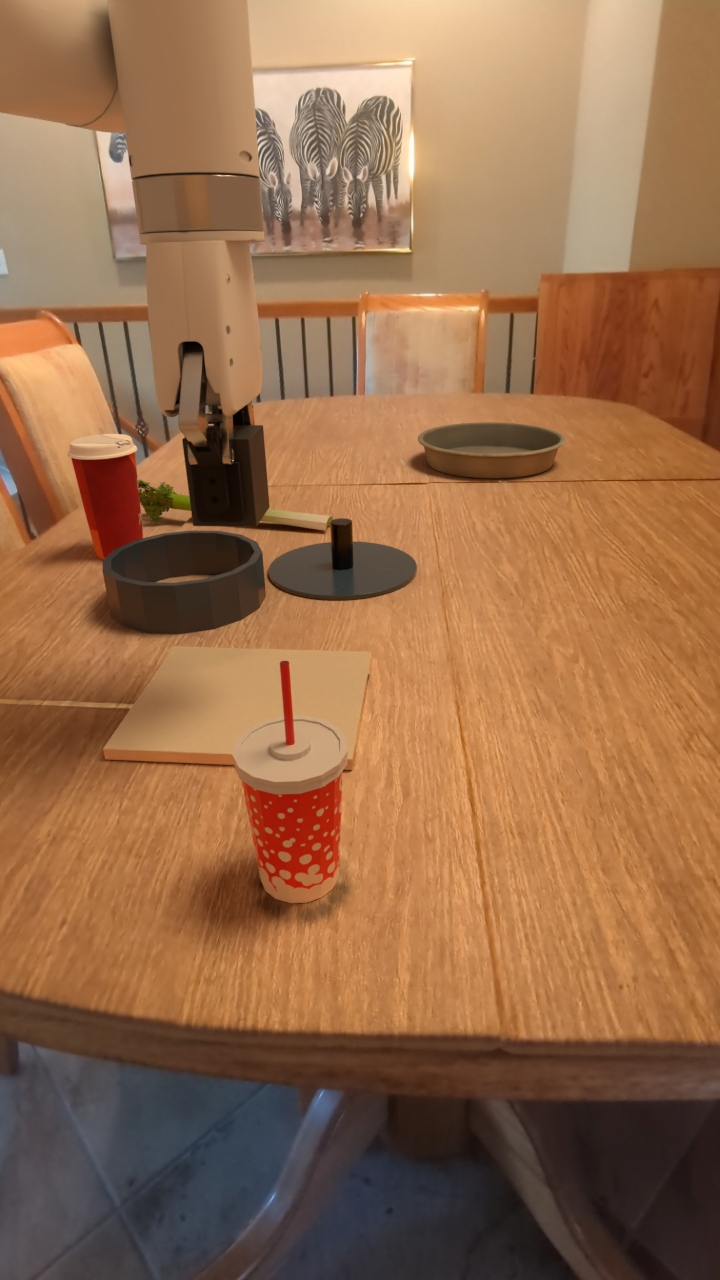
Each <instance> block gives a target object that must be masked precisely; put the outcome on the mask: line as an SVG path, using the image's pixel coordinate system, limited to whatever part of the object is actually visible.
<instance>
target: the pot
mask: <svg viewBox="0 0 720 1280" xmlns="http://www.w3.org/2000/svg"><path fill="white" fill-rule="evenodd" d="M263 555H264V554H263V550H262V548H261V546H260V544H259V543H258V541H256V540H254V539H251V538H250V537H247V536H245V535H243V534H241V533H234V532H228V531H222V530H197V529H195V530H182V531H173V532H172V531H171V532H163V533H159V534H154V535H151V536H147V537H143V538H142V539H138V540H135V541H133V542H130V543H128V544H126V545H123V546H121V547H119V548H116V549H115V550H113V551H112V552H111V553H110V554H109V555H108V556H107V557H106V558H104V559H102V575H103V580H104V581H103V582H104V586H105V591H106V592H105V593H106V597H107V602H108V608H109V613H110V618H112V619H113V620H115V621H116V623H118V624H120V625H121V626H122V627H123V628H125V629H130V630H134V631H136V632H137V631H138V632H142V633H145V634H155V635H156V634H158V635H159V634H160V635H184V634H185V635H186V634H192V633H199V632H206V631H212V630H216V629H219V628H222V627H225V626H229V625H232V624H234V623H237V622H240V621H242V620H244V619H245V618H247V617H249V616H250V615H252V614H253V613H255V612H256V611H258V610H259V609H260V608H261V607H262V604H263V603H264V601H265V599H266V597H267V591H266V581H265V580H266V579H265V569H264V568H265V567H264V556H263ZM196 575H197V576H200V575H201V576H210V577H206V578H200V579H194V580H184V581H178V582H177V581H176V582H163V581H165V580H167V579H172V578H180V577H187V576H196ZM161 581H162V582H161Z"/></svg>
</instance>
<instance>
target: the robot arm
mask: <svg viewBox="0 0 720 1280" xmlns="http://www.w3.org/2000/svg"><path fill="white" fill-rule="evenodd" d="M248 5H249V4H248V0H0V113H1V114H5V115H6V114H7V115H11V116H17V117H24V118H29V119H35V120H40V121H46V122H51V123H52V122H53V123H58V124H61V125H66V126H68V127H75V128H79V129H86V130H89V131H94V132H95V131H96V132H101V133H109V134H122V133H124V134H125V135H124V136H125V142H126V150H127V157H128V165H129V171H130V179H131V186H132V194H133V199H134V208H135V214H136V216H135V217H136V223H137V229H138V237H139V244H140V245H145V247H146V248H145V249H146V251H145V270H146V271H145V272H146V273H145V277H146V278H145V279H146V280H145V281H146V284H145V285H146V302H147V303H146V304H147V316H148V327H149V329H148V330H149V338H150V349H151V350H150V351H151V360H152V370H153V380H154V389H155V390H154V391H155V397H156V404H157V408H158V410H159V412H160V413H161V414H162V415H163V416H165V417H166V418H174V417H177V416H178V418H177V419H178V420H177V423H178V429H179V431H180V433H182V435H183V436H184V438H185V441H186V442H187V444H188V459H189V463H190V465H191V473H192V481H193V489H194V497H195V504H196V512H197V518H198V520H199V521H201V522H241V521H242V520H243V519H244V517H245V511H244V500H243V490H242V480H241V469H240V462H234V437H233V425H256V422H255V415H254V413H255V412H254V405H253V401H254V400H255V399H256V398H257V397H258V396H259V395H260V394H261V392H262V388H263V355H262V353H263V352H262V344H261V343H262V342H261V341H262V340H261V331H260V329H261V328H260V322H259V321H260V320H259V310H258V309H259V308H258V302H257V301H258V300H257V292H256V285H255V284H256V283H255V273H254V268H253V259H252V253H251V252H252V251H251V245H250V243H263V242H265V240H266V239H265V231H264V230H265V226H264V225H265V224H264V212H263V200H262V199H263V195H262V184H261V183H262V182H261V175H260V174H261V173H260V159H259V149H258V148H259V143H258V130H257V115H256V100H255V89H254V88H255V87H254V73H253V60H252V58H253V57H252V46H251V33H250V32H251V31H250V18H249V6H248ZM207 406H209V408H210V413H206V407H207ZM208 425H220V429H221V439H220V437H219V433H218V432H217V431H216V429H215V427H209V426H208Z"/></svg>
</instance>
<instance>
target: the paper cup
mask: <svg viewBox="0 0 720 1280" xmlns="http://www.w3.org/2000/svg"><path fill="white" fill-rule="evenodd" d="M133 440H134V439H133V438H132V437H131V436H130V435H128V434H122V433H102V434H100V433H99V434H92V435H85V436H81V437H78V438H75V439H73V440H71V441H70V443H69V450H68V451H67V453H66V454H67V457H69V458H70V459H71V463H72V466H73V471H74V475H75V479H76V482H77V486H78V490H79V494H80V498H81V502H82V506H83V510H84V514H85V518H86V522H87V525H88V529H89V533H90V537H91V541H92V544H93V548H94V552H95V555H96V557H97V558H98V559H99V560H103V559H104V558H106V557H107V556H108V555H109V554H110V553H111V552H112V551H113V550H115V549H116V548H119V547H121V546H123V545H126V544H128V543H130V542H133V541H135V540H138V539H142V538H144V529H143V521H142V519H143V518H142V510H141V509H142V507H141V504H140V498H139V493H140V492H139V489H140V488H138V482H139V481H138V480H139V478H138V470H137V458H136V452H137V451H138V447H137V446H136V444H134V441H133Z"/></svg>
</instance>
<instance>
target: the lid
mask: <svg viewBox="0 0 720 1280" xmlns="http://www.w3.org/2000/svg"><path fill="white" fill-rule="evenodd" d="M329 527H330V541H327V542H320V543H313V544H309V545H305V546H301V547H297V548H294V549H292V550H289V551H286V552H284V553H282V554H281V555H279V556H277V557H276V558H275V559H273V560H272V561H271V563H270V565H269V567H268V578H269V580H270V582H271V583H272V584H273V585H274V586H275V587H276V588H277V589H280V590H281V591H283V592H286V593H288V594H291V595H295V596H297V597H303V598H308V599H313V600H315V599H316V600H323V601H324V600H325V601H349V600H350V601H351V600H361V599H368V598H374V597H378V596H379V597H380V596H383V595H385V594H389V593H393V592H395V591H398V590H400V589H401V588H403V587H405V586H407V585H409V584H410V583H411V582H412V581H413V580H414V579H415V577H416V576H417V572H418V566H417V565H418V564H417V562H416V560H415V559H414V558H413V557H412V556H411V555H410V554H409V553H407V552H406V551H403V550H401V549H399V548H397V547H393V546H390V545H386V544H381V543H376V542H369V541H368V542H367V541H354V534H353V532H354V531H353V520H351V519H350V518H345V517H344V518H342V517H341V518H333V520H332V521H331V522H330V526H329Z"/></svg>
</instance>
